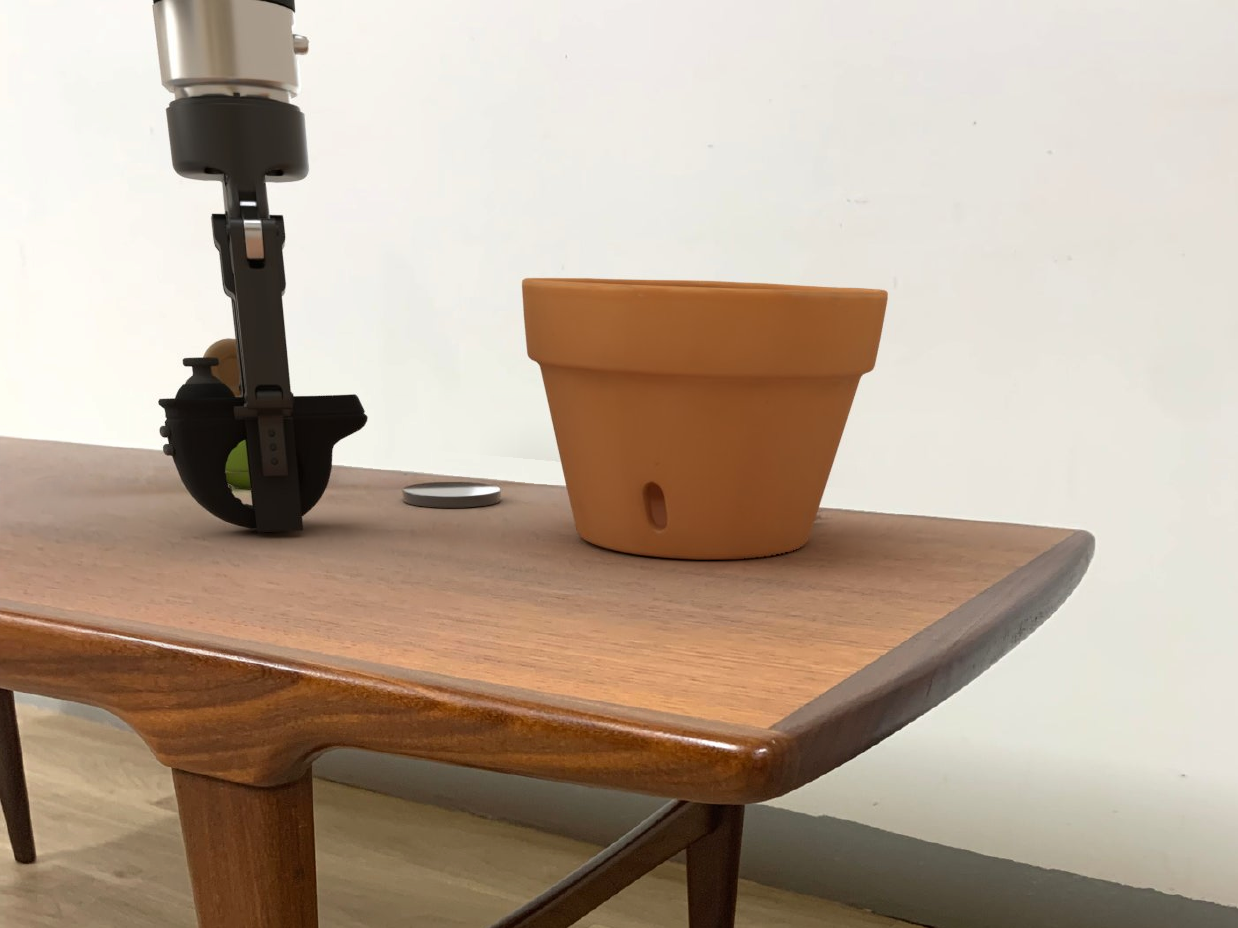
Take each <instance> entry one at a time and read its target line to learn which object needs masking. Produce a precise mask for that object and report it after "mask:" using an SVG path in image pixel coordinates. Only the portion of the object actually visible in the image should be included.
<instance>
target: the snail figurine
mask: <svg viewBox="0 0 1238 928" xmlns="http://www.w3.org/2000/svg"><path fill="white" fill-rule="evenodd" d="M203 357H214V358H218V360H219V365H218V366H211V371H212V375H213V376H215V377H217V378H218V379H219V380H220V381H221V382H222V383H224V384H226V385H227V386H228V387H229V388H230V389H231V390H232V392H233V393H234V395H235V397H240V396H241V395H240V391H239V389H238V383H239V381H240V377H239V368H238V358H237V349H236V340H235V338H229V337H228V338H222V339H219V340H217V341H214V342H213V343H212V344H211V345H209V346H208V348H207V349H206V350H205V352H204V354H203ZM225 473H226V480H227V483H228V486H231V487H234V488H238V489H243V490H251V488H250V479H249V470H248V460H247V451H246V442H245V440H243V441H242V442H240V443H239V444H238V446H237V447H236V448H235V449H233V450H232V451H231V453H230V454H229V456H228V461H227V463H226V468H225Z"/></svg>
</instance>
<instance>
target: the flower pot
mask: <svg viewBox="0 0 1238 928" xmlns="http://www.w3.org/2000/svg"><path fill="white" fill-rule="evenodd" d="M521 292H522V309H523V322H524V323H523V324H524V334H525V345H526V355H527V356H528V358H529V359H530V360H531V361H533V362H536V363H537V365H539V369H540V373H541V377H542V382H543V387H544V391H545V396H546V400H547V405H548V410H549V413H550V419H551V423H552V426H553V431H554V436H555V442H556V446H557V450H558V454H559V459H560V464H561V469H562V473H563V477H564V481H565V487H566V491H567V496H568V500H569V503H570V508H571V512H572V516H573V522H574V525H575V530H576V532H577V534H578V535H579V536H580V537H581V538H582V539H583V540H584V541H586V542H588V543H590V544H592V545H595V546H597V547H601V548H604V549H607V550H611V551H616V552H620V553H626V554H632V555H639V556H647V557H655V558H666V559H679V560H681V559H682V560H744V558H745V559H756V557H758V558H765V557H764V556H766V557H772V556H771V555H773V556H777V555H776V554H779V555H782V554H781V553H783V554H786V553H785V552H788V553H791V552H794V551H797V550H798V549H801V548H802V547H803V546H805V545H806V544H807V542H808V540H809V539H810V536H811V532H812V530H813V527H814V524H815V521H816V518H817V515H818V511H819V508H820V505H821V502H822V499H823V496H824V493H825V489H826V487H827V483H828V481H829V477H830V475H831V471H832V468H833V465H834V462H835V459H836V456H837V452H838V449H839V446H840V445H841V440H842V437H843V434H844V431H845V428H846V425H847V421H848V418H849V415H850V413H851V409H852V406H853V403H854V400H855V397H856V393H857V390H858V387H859V385H860V380H861V379H862V377H863V375H865V374H868V373H871V372H872V371H873V370H874V368H875V367H876V363H877V358H878V353H879V348H880V342H881V338H882V332H883V327H884V322H885V317H886V311H887V306H888V305H887V304H888V300H889V297H888V296H889V292H888V291H887V290H885V289H881V288H880V289H879V288H867V287H866V288H864V287H835V286H834V287H833V286H818V285H817V286H815V285H797V284H782V283H768V282H767V283H766V282H741V281H740V282H739V281H723V280H722V281H721V280H692V279H691V280H688V279H687V280H686V279H685V280H684V279H631V278H630V279H629V278H628V279H627V278H624V279H623V278H591V277H590V278H589V277H588V278H587V277H526V278H524V279H522V281H521ZM800 547H801V548H800ZM796 549H797V550H796ZM793 550H794V551H793Z"/></svg>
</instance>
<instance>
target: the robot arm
mask: <svg viewBox="0 0 1238 928" xmlns="http://www.w3.org/2000/svg"><path fill="white" fill-rule="evenodd" d="M295 3H296V2H295V0H152V14H153V22H154V32H155V39H156V48H157V56H158V64H159V72H160V82H161V86H162V87H163V88H164V89H165V90H166V91H168V92H169V93H170V94H174V100H171V101H170V102H168V107H166V108H165V114H166V123H167V129H168V130H167V131H168V132H167V133H168V139H169V147H170V156H171V163H172V168H173V170H174V172H175V173H176V174H177V175H179V176H180V177H182V178H184V179H189V180H195V181H205V182H212V181H213V182H220V183H221V186H222V197H223V198H222V199H223V207H224V213H211V215H210V220H211V222H210V223H211V229H212V231H211V232H212V240H213V244H214V247H215V249H216V250H217V252H218V254H219V255H218V256H219V263H220V264H219V265H220V273H221V275H220V276H221V282H222V283H221V285H222V290H223V292H224V294H225V295H226V297H228V298H230V302H231V310H232V320H233V329H234V339H235V340H236V349H237V358H238V368H239V377H240V381H239V383H238V389H239V391H240V395H241V396H240V397H244V398H245V404H244V406H241V407H234V415H235V419H245V422H246V431H247V440H245V442H246V451H247V460H248V470H249V471H248V472H249V479H250V488H251V489H250V495H251V497H250V498H251V505H252V506H254V507H255V515H256V524H257V529H256V533H273V532H295V531H304V523H303V516H302V511H301V500H300V490H299V479H298V469H297V458H296V447H295V437H294V426H293V418H291V413H292V412H293V402H294V396H295V395H294V392H292V389H291V379H290V368H289V357H288V347H287V335H286V326H285V325H286V324H285V315H284V306H283V305H284V303H283V296H284V295H285V293H286V287H287V281H286V280H287V279H286V271H285V262H284V253H283V252H284V251H283V250H284V248H285V246H286V230H285V220H284V215H283V214H270V206H269V198H268V189H267V184H266V183H275V184H276V183H277V184H279V183H280V184H282V183H293V182H299V181H302V180H305V178H307V176H308V175H309V172H310V165H309V164H310V163H309V152H308V140H307V139H308V138H307V129H306V117H305V116H306V115H305V113H304V112H303V111H301V108H300V107H299V106H298V105H297V104H296V105H295V104H293V103H292V99H294V98H297V97H298V96H299V94H301V92H302V82H301V79H302V78H301V70H300V69H301V68H300V61H299V59H298V56H306V55H308V53H309V52H310V51H311V50H310V41H309V39H308V37H307V36H305V35H302V34H298V33H293V30H295V27H296V26H297V22H296V16H295V13H296V4H295ZM297 55H298V56H297Z"/></svg>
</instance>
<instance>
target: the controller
mask: <svg viewBox="0 0 1238 928" xmlns="http://www.w3.org/2000/svg"><path fill="white" fill-rule="evenodd" d="M182 365H183V366H184V367H186V368H189V367H191V371H192V375H191V376H189V378H187V380H186V381H185V383H182V385H181V386H180V387H179V389H178V390H177V392H176V394H175V397H174V398H173V397H172V398H171V397H170V398H159V399H158V403H157V404H158V405H159V406H160V407H161V408H162V409H163V410H164V414H165V420H164V425H161V426H160V427H159V430H158V431H159V435H160V436H161V438H164V439H167V442H168V443H165V444H163V446H162V452H163V453H164V455H165V456H171V457H172V459H173V463H174V465H175V468H176V471H177V472H178V475H179V478H180V480H181V482H182V485H184V487H185V489H186V490H187V492H188V493H189V495H190V496H191V497H192V498H193V500H195V502H197V504H198V505H199V506H201V507H202V508H203V509H205V510H206V512H208V513H209V514H211V515H212V516H214V517H216V518H218V519H219V520H221V521H223V522H226V523H229V524H231V525H234V526H237V527H241V528H247V529H252V530H257V524H256V515H255V507H254V506H252V504H248V503H243V500H242V499H240V498H239V497H236V496H235V495H234V493H233V491H232V488H231V487H230V485H229V484H228V483H227V480H226V473H225V472H226V471H225V468H226V463H227V461H228V456H229V454H230V453H231V451H232V450H233V449H235V448H236V447H237V446H238V444H239V443H240V442H242V441H243V440H247V431H246V422H245V419H235V415H234V407H241V406H244V404H245V398H244V397H235V395H234V393H233V392H232V390H231V389H230V388H229V387H228V386H227V385H226V384H224V383H222V382H221V381H220V380H219V379H218V378H217V377H215V376H213V375H212V371H211V366H218V365H219V360H218V358H214V357H184V358H182ZM291 418H293V426H294V437H295V447H296V458H297V469H298V479H299V490H300V500H301V511H302V517H304V516H305V515H306V514H307V513H309V512H310V511H311V510H312V509H313V508H314V507H315V506H316V505H317V504H318V502H319V501H320V500H321V498H322V497H323V495H324V494H325V492H326V490H327V488H328V485H329V482H330V479H331V474H332V468H333V451H334V447H335V445H337V443H338V442H340V441H341V440H343V439H345V438H347V437H349V436H351V435H353V434H355V433H357V432H359V431H361V430H362V429H363V428H364V427H365V426H366V423H367V422H368V418H369V416H368V415H367V414H366V411H365V408H364V406H363V405H362V402H361V400H360V398H359V396H358V395H357V394H355V393H354V394H353V393H352V394H333V395H332V394H330V395H329V394H328V395H325V394H324V395H294V402H293V412H292V413H291Z"/></svg>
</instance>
